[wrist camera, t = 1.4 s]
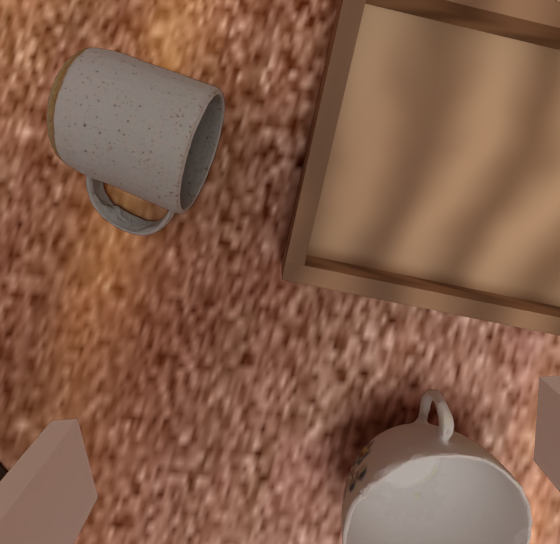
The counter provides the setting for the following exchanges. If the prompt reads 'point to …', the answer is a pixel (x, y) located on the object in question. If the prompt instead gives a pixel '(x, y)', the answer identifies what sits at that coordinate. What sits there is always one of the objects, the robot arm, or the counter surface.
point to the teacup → (432, 488)
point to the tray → (437, 160)
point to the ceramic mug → (134, 132)
